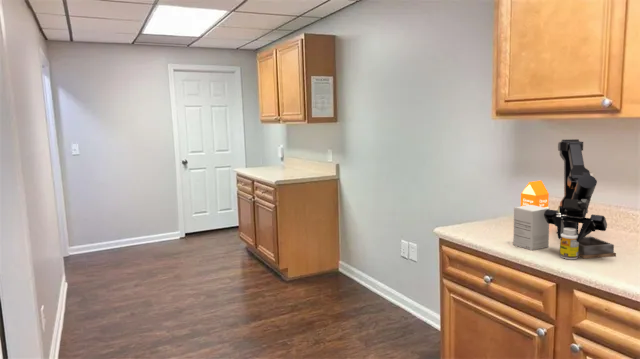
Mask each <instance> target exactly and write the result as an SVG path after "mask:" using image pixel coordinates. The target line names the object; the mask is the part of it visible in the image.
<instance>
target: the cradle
mask: <svg viewBox="0 0 640 359" xmlns="http://www.w3.org/2000/svg"><path fill="white" fill-rule="evenodd" d="M614 248H615V245H614V244H613V243H611V242H608V241H605V240H602V239H599V238H596V237H593V236H585V237H584V238H583V239H582V240H581V241H579V248H578V258H582V260H583V259H597V258H608V257H609V258H610V257H617V253H616V252H615V251H614Z"/></svg>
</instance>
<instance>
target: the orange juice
mask: <svg viewBox="0 0 640 359" xmlns="http://www.w3.org/2000/svg"><path fill="white" fill-rule="evenodd" d="M549 194H550V193H549V192H548V190H547V188H546V186H545V184H544V183H543V181H542V180H534V181H528V184H526V186H525V187H524V189H523V191H522V192H520V206H526V205H535V206H539V207H545V208H549V200H550V199H549Z"/></svg>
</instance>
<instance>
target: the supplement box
mask: <svg viewBox="0 0 640 359" xmlns="http://www.w3.org/2000/svg"><path fill="white" fill-rule="evenodd" d="M548 209H549V210H550V208H549V207H548V208H545V207H539V206H535V205H526V206H521V205H520V206H515V207H513V238H512V239H513V242H512V243H513V246H515V247H516V246H517V247H518V248H519V247H520V248H522V249H526V250H530V251H535V250H540V249H544V248H549V243H550V242H549V240H550V224H549V223H547V221H546V219H545V216H544V213H545V211H546V210H548Z"/></svg>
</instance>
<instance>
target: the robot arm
mask: <svg viewBox="0 0 640 359" xmlns="http://www.w3.org/2000/svg"><path fill="white" fill-rule="evenodd" d="M557 150H558V151H559V156H560V158H561V159H562V161H563V173H564V174H563V184H564V186H563V189H564V190H563V192H564V193H563V194H564V196H563V197H562V199H561V201H560V202H559V205H558V208H557V209H556V210H555V209H550V208H549V209H548V210H546V211H545V213H544V216H545V219H546V221H547V223H549V225H554V226H555V227H556V228H557V230H556V234H557V238H558V239H559V240H560V238H561V237H560V236H561V234H562V233H563V229H564V228H575V229H576V230H577V235H578V238H577V242H579V241H581V240H582V239H583V238H584V237H587V236H588V235H589V234H590V233H592V232H595V231H601V232H605V231H606V230H607V226H608V223H607V220H606V217H605V216H604V215H600V214H590V218H589V217H586V216H587V214H588V212H589V210H588V209H589V206H590V202H591V200H592V196H593V194H594V192H595V189H596V186H597V184H598V180H597V179H596V178H595V177H594V176H593V175H591V173H590V170H588V168H586V167H585V162H584V157H583V151H584V141H581V140H579V139H577V138H576V139H573V138H572V139H561V141H559V142H558V143H557ZM579 224H581V228H580V230H579Z"/></svg>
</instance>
